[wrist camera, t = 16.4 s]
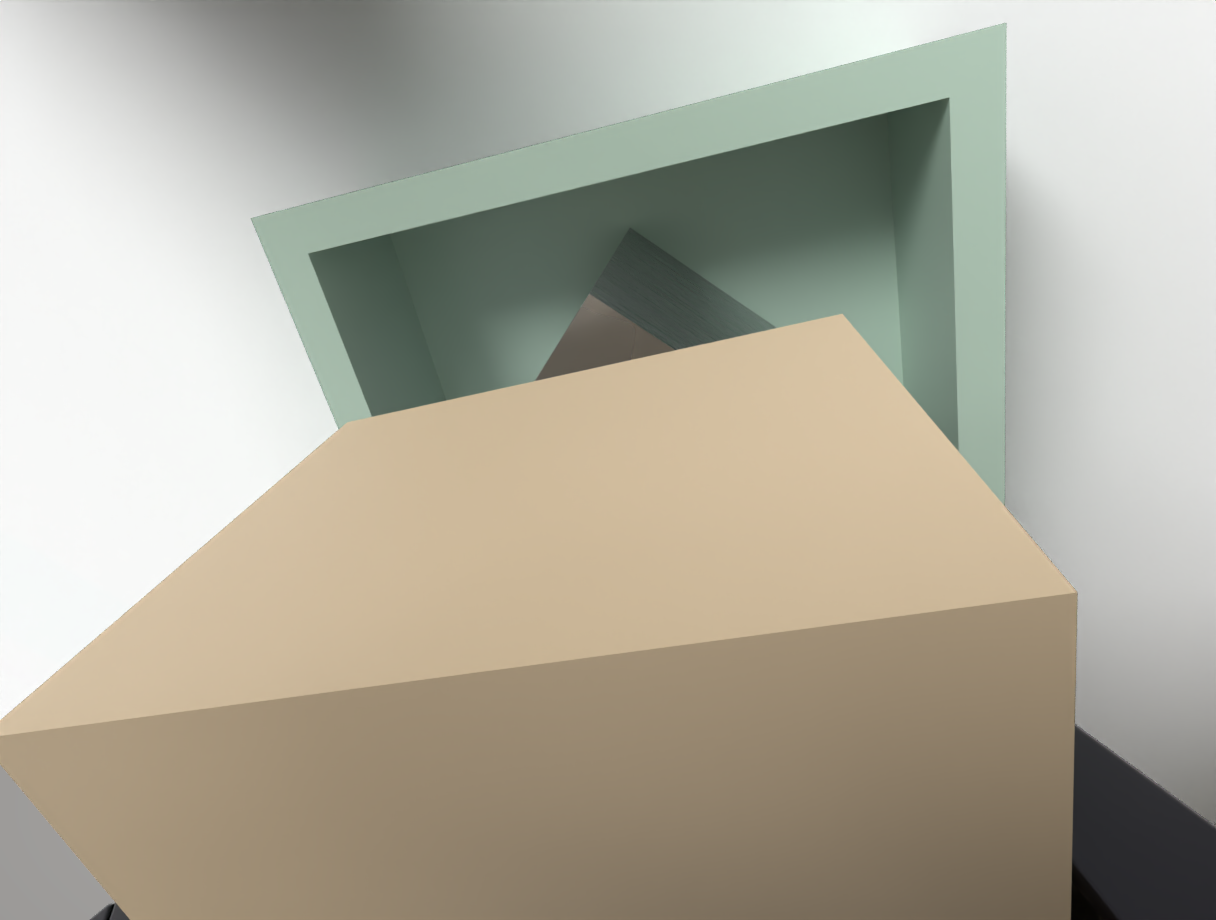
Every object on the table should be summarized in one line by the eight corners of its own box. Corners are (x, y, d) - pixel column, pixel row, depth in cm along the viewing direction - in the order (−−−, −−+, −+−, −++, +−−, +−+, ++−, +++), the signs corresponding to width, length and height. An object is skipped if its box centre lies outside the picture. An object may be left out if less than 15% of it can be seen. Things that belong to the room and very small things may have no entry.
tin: (502, 431, 18) (401, 594, 12) (629, 227, 15) (589, 293, 9) (694, 548, 19) (696, 759, 12) (843, 373, 16) (941, 525, 10)
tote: (358, 197, 16) (250, 217, 12) (915, 53, 14) (1006, 22, 10) (507, 619, 21) (465, 733, 17) (937, 566, 19) (1003, 683, 15)
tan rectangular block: (347, 421, 9) (-23, 738, 4) (842, 313, 7) (1078, 590, 3) (525, 828, 12) (422, 1270, 7) (900, 796, 10) (1063, 1303, 6)
